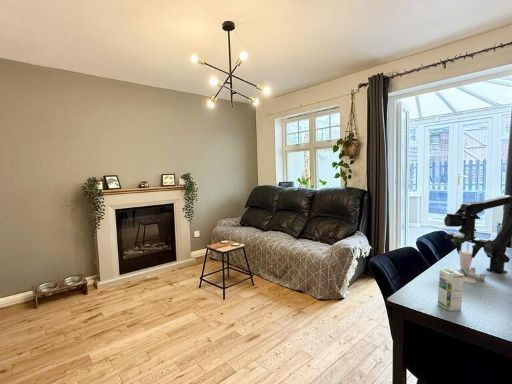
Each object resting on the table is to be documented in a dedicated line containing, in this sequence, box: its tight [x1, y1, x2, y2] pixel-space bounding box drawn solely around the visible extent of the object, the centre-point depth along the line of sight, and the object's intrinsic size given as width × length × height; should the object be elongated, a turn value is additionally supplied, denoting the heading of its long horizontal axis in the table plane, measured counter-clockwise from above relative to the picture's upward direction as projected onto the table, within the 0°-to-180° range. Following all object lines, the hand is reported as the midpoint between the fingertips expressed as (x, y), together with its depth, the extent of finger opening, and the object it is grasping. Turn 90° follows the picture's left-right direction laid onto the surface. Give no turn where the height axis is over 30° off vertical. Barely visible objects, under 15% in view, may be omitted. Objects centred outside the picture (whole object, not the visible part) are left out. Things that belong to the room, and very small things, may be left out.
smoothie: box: [458, 243, 473, 271], centre depth 145 cm, size 6×6×14 cm
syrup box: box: [437, 268, 464, 312], centre depth 107 cm, size 6×6×14 cm
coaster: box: [463, 276, 478, 284], centre depth 133 cm, size 8×8×1 cm
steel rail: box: [463, 266, 486, 283], centre depth 136 cm, size 7×9×3 cm
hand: (465, 255), depth 145 cm, fingers closed on smoothie, 6 cm apart
